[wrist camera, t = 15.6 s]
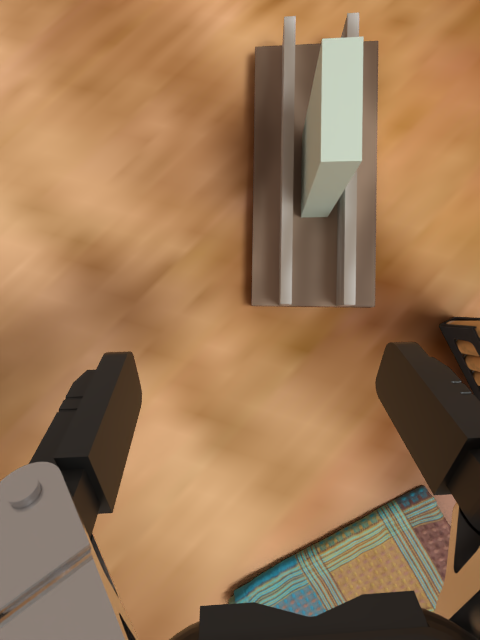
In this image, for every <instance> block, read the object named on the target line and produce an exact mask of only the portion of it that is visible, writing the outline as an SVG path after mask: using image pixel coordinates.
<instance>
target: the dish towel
mask: <svg viewBox="0 0 480 640" xmlns="http://www.w3.org/2000/svg"><path fill="white" fill-rule="evenodd" d="M450 531H451V526H450V525H449V524H448V523H447V521H446V519H445V518H444V516H443V514H442V513H441V511H440V509H439V508H438V506H437V503H436V500H435V499H434V497H433V496H432V495H430V493H429V492H428V490H427V489H426V488H425V486H420V487H418V488H416V489H414V490H412V491H410V492H408V493H406V494H404V495H402V496H400V497H399V498H396V499H395V500H393V501H391V502H389V503H387V504H385V505H384V506H382V507H380V508H378V509H377V510H375V511H373V512H372V513H370V514H369V515H367V516H365V517H363V518H362V519H360V520H358V521H356V522H355V523H353V524H351V525H348V526H347V527H345V528H344V529H341V530H340V531H338V532H336V533H334V534H332V535H331V536H329V537H327V538H325V539H323V540H322V541H320V542H317V543H315V544H313V545H311V546H310V547H308V548H306V549H304V550H302V551H300V552H298V553H297V554H294V555H293V556H291V557H289V558H287V559H285V560H283V561H282V562H280V563H278V564H276V565H275V566H274V567H272V568H270V569H268V570H267V571H265V572H263V573H261V574H260V575H259V576H257V577H255V578H254V579H253V580H252V581H250V582H249V583H247V584H245V585H243V586H242V587H240V588H238V589H236V590H234V595H233V596H232V597H230V599H229V602H228V603H229V604H237V603H250V602H255V603H259V604H262V605H266V606H270V607H274V608H277V609H281V610H285V611H289V612H293V613H296V614H300V615H304V616H309V617H312V616H317V615H319V614H321V613H323V612H326V611H328V610H330V609H332V608H334V607H336V606H338V605H341V604H343V603H345V602H347V601H349V600H351V599H353V598H356V597H358V596H360V595H362V594H373V593H387V592H400V591H414V592H415V594H416V597H417V599H418V602H419V604H420V607H421V608H423V609H426V610H429V611H431V612H434V613H435V608H436V604H437V600H438V597H439V594H440V592H441V590H442V587H443V584H444V581H445V576H446V568H447V559H448V549H449V540H450Z"/></svg>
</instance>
